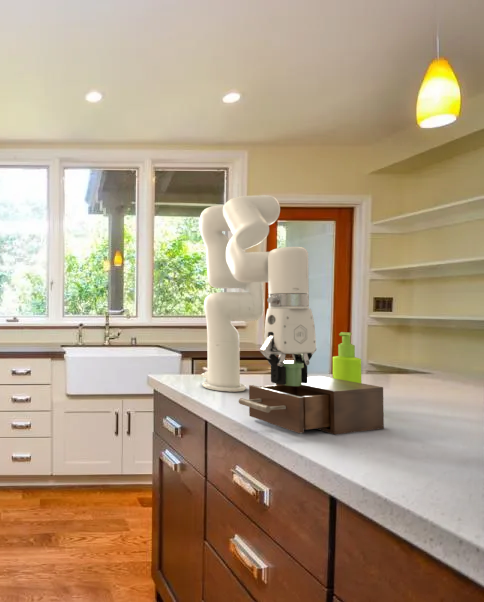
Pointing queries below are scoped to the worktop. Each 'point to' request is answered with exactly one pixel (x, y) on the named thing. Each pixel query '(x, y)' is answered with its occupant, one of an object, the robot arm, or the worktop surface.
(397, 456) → the worktop surface
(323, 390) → the cabinet
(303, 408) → the drawer
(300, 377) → the pot
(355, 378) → the soap dispenser
